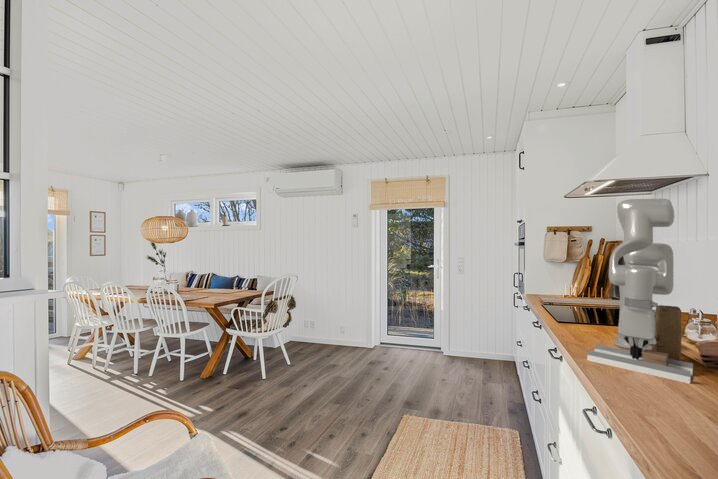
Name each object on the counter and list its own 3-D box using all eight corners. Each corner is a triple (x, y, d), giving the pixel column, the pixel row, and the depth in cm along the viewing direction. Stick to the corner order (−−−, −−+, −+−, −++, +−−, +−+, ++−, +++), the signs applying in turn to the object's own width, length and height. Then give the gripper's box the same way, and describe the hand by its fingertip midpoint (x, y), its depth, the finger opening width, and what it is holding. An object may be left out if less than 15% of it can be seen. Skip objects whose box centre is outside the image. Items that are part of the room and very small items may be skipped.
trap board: (596, 353, 139) (596, 344, 139) (692, 374, 120) (693, 363, 120) (587, 360, 130) (587, 350, 130) (689, 383, 111) (690, 372, 111)
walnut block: (645, 361, 125) (645, 349, 125) (668, 366, 121) (668, 353, 121) (642, 364, 122) (642, 352, 122) (666, 369, 117) (666, 356, 117)
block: (680, 369, 124) (683, 310, 124) (652, 364, 129) (654, 306, 128) (678, 361, 132) (681, 305, 132) (652, 356, 137) (654, 303, 137)
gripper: (667, 306, 122) (665, 361, 123) (614, 299, 133) (612, 350, 133) (665, 308, 117) (662, 366, 117) (609, 301, 128) (607, 354, 128)
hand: (635, 358), depth 125 cm, fingers closed
